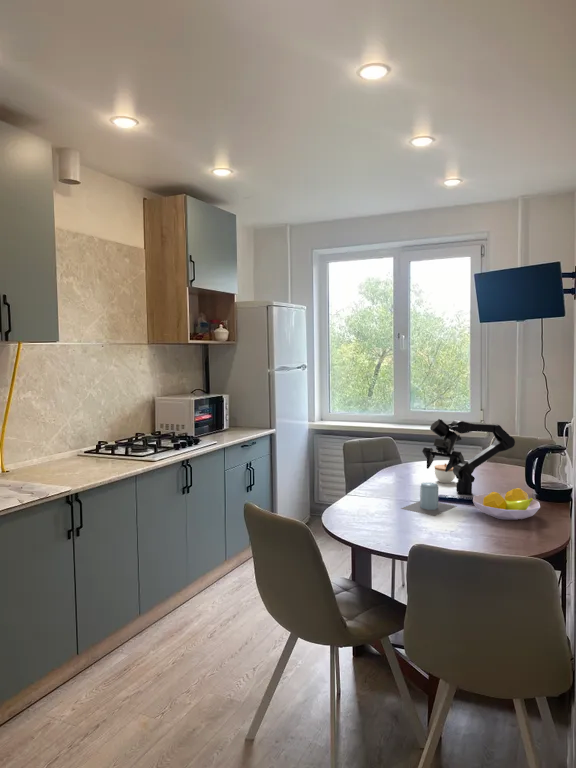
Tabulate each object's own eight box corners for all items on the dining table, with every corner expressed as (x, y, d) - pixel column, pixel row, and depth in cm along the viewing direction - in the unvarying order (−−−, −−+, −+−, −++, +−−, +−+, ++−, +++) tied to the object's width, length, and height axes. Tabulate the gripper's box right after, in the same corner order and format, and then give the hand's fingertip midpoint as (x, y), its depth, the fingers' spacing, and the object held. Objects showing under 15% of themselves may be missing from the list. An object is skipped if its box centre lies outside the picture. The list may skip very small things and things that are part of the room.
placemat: (423, 500, 262) (423, 499, 262) (456, 506, 251) (456, 506, 251) (400, 509, 247) (400, 508, 247) (434, 517, 237) (434, 516, 237)
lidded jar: (456, 484, 292) (457, 466, 291) (434, 483, 294) (435, 465, 293) (455, 479, 302) (455, 462, 302) (433, 478, 304) (434, 461, 304)
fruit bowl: (464, 506, 253) (464, 480, 252) (526, 506, 252) (527, 481, 251) (483, 526, 225) (484, 497, 224) (554, 527, 224) (555, 498, 224)
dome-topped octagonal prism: (425, 504, 254) (426, 481, 254) (440, 507, 250) (440, 484, 249) (417, 507, 249) (418, 484, 248) (432, 510, 244) (432, 487, 244)
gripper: (424, 430, 272) (412, 456, 265) (461, 434, 260) (449, 462, 252) (432, 444, 278) (420, 470, 271) (469, 449, 266) (457, 477, 259)
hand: (436, 469), depth 263 cm, fingers open, 9 cm apart
